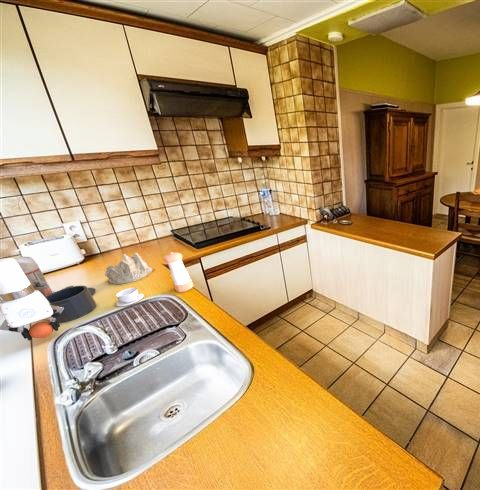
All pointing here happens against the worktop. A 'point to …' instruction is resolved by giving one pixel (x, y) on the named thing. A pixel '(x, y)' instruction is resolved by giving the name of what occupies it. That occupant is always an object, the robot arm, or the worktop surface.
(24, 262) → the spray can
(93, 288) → the pot lid
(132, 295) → the teacup
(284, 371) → the worktop surface
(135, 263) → the jagged rock
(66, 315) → the pot
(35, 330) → the ball
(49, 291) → the lighter
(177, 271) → the salt shaker
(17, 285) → the robot arm
